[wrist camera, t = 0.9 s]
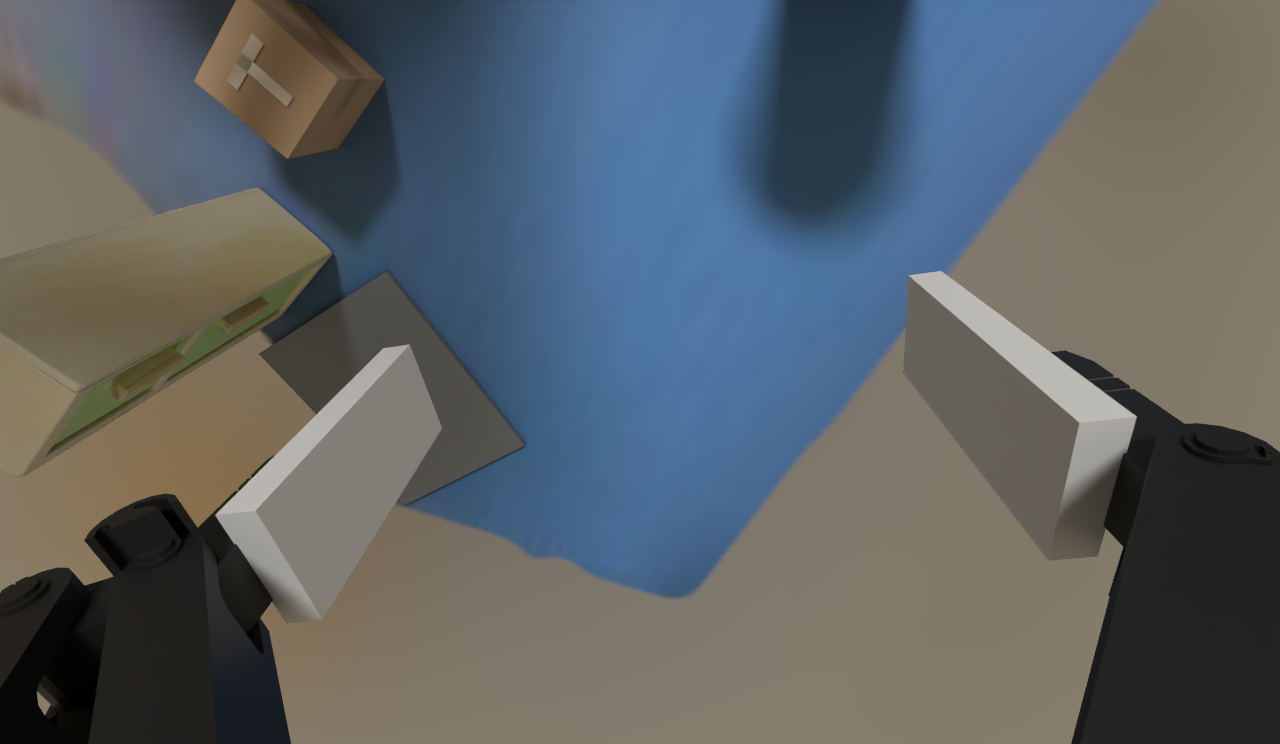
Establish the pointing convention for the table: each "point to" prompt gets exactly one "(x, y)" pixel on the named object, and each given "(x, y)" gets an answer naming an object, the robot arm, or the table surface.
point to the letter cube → (288, 76)
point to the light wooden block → (137, 313)
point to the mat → (389, 318)
